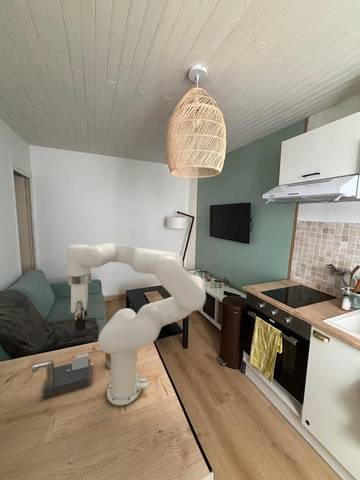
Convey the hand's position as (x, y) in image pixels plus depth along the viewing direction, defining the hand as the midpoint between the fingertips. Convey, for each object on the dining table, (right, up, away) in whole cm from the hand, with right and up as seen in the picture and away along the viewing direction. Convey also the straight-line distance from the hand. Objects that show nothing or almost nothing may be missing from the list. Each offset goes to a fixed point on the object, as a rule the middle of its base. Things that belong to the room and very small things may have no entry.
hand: (81, 322), depth 72 cm
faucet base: (-8, -26, +6) cm, 27 cm away
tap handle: (-4, -22, +8) cm, 24 cm away
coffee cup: (+7, -25, +15) cm, 30 cm away
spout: (-13, -23, -1) cm, 26 cm away
